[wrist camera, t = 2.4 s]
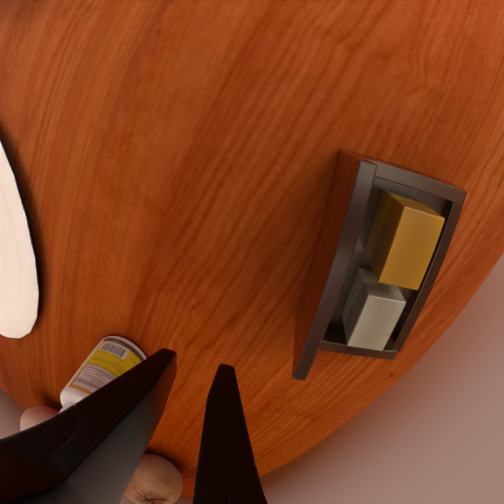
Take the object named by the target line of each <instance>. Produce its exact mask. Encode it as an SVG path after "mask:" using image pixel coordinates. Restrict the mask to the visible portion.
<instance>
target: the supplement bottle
mask: <svg viewBox="0 0 504 504" xmlns="http://www.w3.org/2000/svg"><path fill="white" fill-rule="evenodd" d="M145 359H146V356H145V355H144V353H143V352H142V351H141V350H140V349H139V348H138V347H137V346H136V345H135V344H133V343H132V342H130V341H129V340H127V339H125V338H122V337H118V336H108V337H105V338H103V339H102V340H101V341H100V342H99V343H98V345H97V346H96V347H95V349H94V350H93V351H92V352H91V354H90V355H89V356H88V357H87V359H86V360H85V361H84V363H83V364H82V365H81V367H80V368H79V369H78V371H77V372H76V373H75V374H74V376H73V377H72V378H71V380H70V381H69V382H68V384H67V385H66V386H65V388H64V389H63V391H62V392H61V395H60V400H61V403H62V406H63V407H62V409H61V410H60V412H62V411H64V410H65V409H67V408H68V407H70V406H72V405H74V406H75V403H77V402H78V401H80V400H82V399H83V398H85V397H87V396H88V395H90V394H91V393H93V392H95V391H96V390H98V389H99V388H101V387H103V386H104V385H106V384H107V383H109V382H110V381H112V380H114V379H115V378H117V377H118V376H120V375H121V374H123V373H125V372H126V371H128V370H129V369H131V368H132V367H134V366H136V365H137V364H139V363H140V362H142V361H143V360H145ZM60 412H59V413H60Z"/></svg>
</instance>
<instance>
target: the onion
mask: <svg viewBox="0 0 504 504" xmlns="http://www.w3.org/2000/svg"><path fill="white" fill-rule="evenodd" d="M182 486H183V482H182V478H181V473H180V472H179V471H178V470H177V468H176V467H175V466H174V465H173V464H172V463H171V462H170V461H169V460H167V459H166V458H164V457H161V456H159V455H157V454H143V456H142V458H141V460H140V462H139V464H138V466H137V468H136V470H135V472H134V474H133V476H132V478H131V480H130V482H129V484H128V486H127V489H126V491H125V493H124V495H125V496H126V497H127V498H128V499H130V500H131V501H133V502H135V503H137V504H173V503H174V502H175V501H176V500H177V499H178V498H179V496H180V495H181V492H182Z"/></svg>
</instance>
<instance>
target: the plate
mask: <svg viewBox="0 0 504 504" xmlns="http://www.w3.org/2000/svg"><path fill="white" fill-rule="evenodd" d="M39 294H40V290H39V282H38V273H37V262H36V255H35V251H34V247H33V242H32V238H31V233H30V228H29V222H28V217H27V214H26V211H25V207H24V204H23V201H22V198H21V194H20V191H19V187H18V184H17V180H16V176H15V173H14V171H13V169H12V166H11V164H10V161H9V159H8V156H7V154H6V151H5V149H4V146H3V143H2V141H1V139H0V334H2V335H4V336H6V337H10V338H21V337H23V336H25V335H26V334H28V333H30V332H31V330H32V328H33V326H34V324H35V321H36V319H37V317H38V306H39Z"/></svg>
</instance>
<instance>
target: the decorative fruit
mask: <svg viewBox="0 0 504 504" xmlns="http://www.w3.org/2000/svg"><path fill="white" fill-rule="evenodd" d="M59 412H60V411H59V410H56V409H53V408H51V407H47V406H33V407H30V408H28V409H27V410H26V411H25V412H24V413H23V415H22V416H21V420H20V428H21V431H23V430H25V429H27V428H30V427H32V426H34V425H37V424H39V423H41V422H43V421H45V420H47V419H49V418H51V417H53V416H55V415H56V414H58V413H59Z"/></svg>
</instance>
